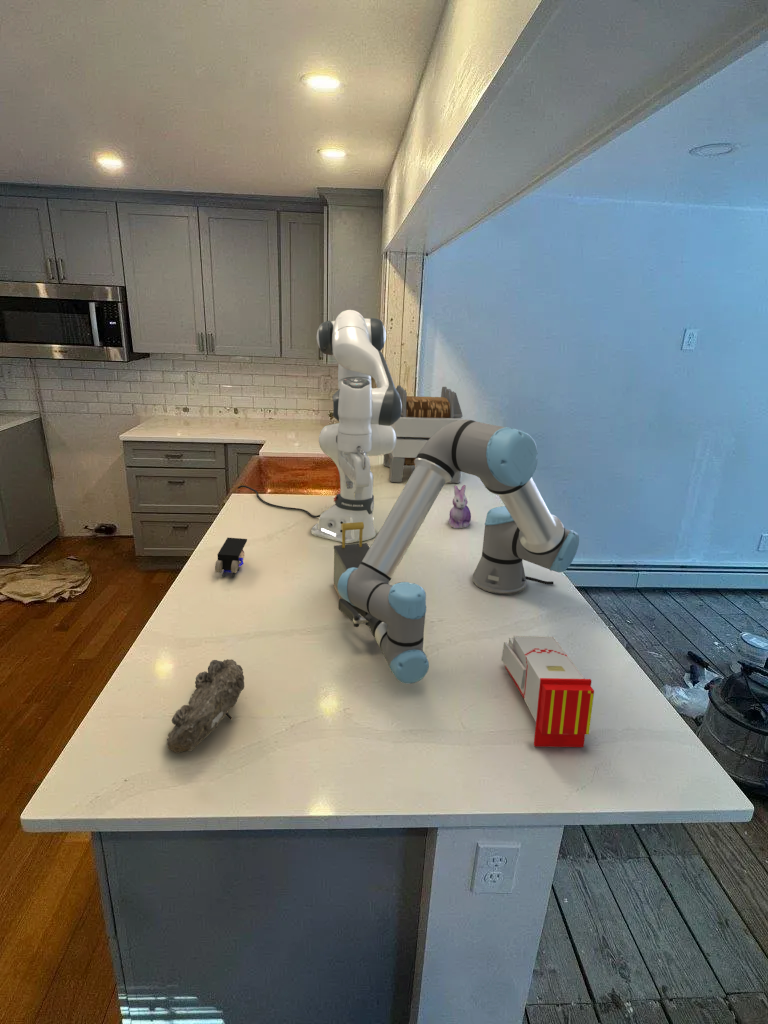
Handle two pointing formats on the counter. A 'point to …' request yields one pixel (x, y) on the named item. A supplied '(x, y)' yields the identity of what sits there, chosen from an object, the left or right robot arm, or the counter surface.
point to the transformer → (420, 428)
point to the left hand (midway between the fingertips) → (353, 493)
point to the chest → (337, 572)
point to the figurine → (459, 509)
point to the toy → (550, 690)
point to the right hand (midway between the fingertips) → (363, 586)
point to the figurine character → (230, 556)
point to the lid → (351, 547)
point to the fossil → (206, 705)
